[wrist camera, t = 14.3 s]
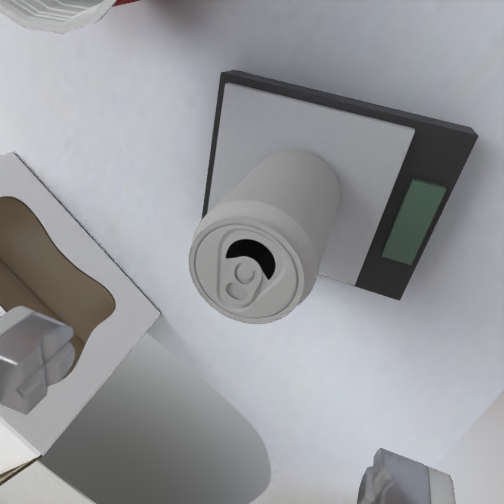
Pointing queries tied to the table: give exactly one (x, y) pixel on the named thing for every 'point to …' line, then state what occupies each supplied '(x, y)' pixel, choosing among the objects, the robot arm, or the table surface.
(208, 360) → the table surface
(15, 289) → the gable box
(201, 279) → the beverage can
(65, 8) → the plastic cup
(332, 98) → the kitchen scale
